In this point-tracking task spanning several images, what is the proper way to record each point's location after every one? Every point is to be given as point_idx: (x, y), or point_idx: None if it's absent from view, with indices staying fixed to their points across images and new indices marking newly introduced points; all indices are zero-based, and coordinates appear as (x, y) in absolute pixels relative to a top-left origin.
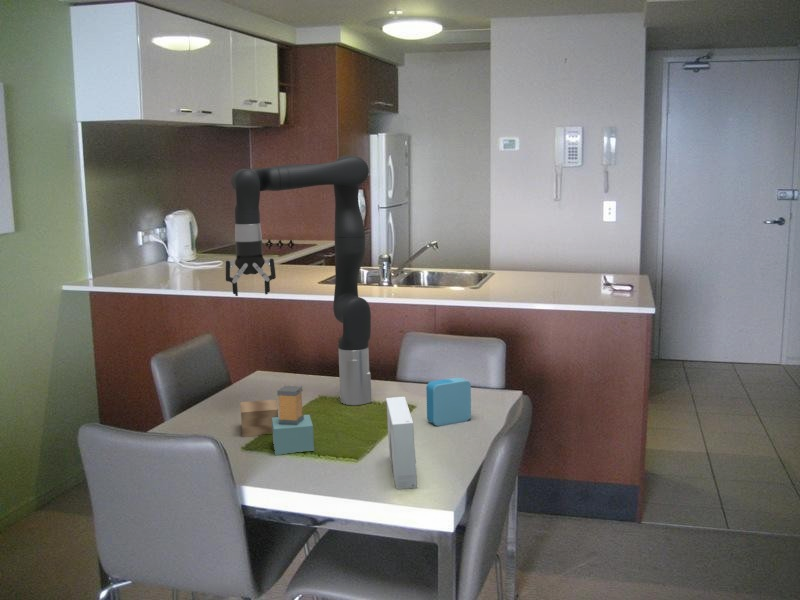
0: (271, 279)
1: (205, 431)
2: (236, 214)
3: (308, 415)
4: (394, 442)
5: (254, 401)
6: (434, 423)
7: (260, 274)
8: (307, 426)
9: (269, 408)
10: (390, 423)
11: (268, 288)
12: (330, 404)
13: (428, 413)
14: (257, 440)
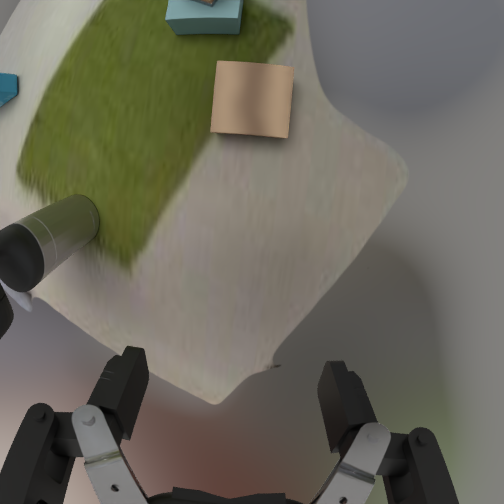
0: (66, 414)
1: (345, 134)
2: None
3: (168, 14)
4: None
5: (257, 132)
6: (16, 75)
7: (125, 467)
8: None
9: (233, 71)
10: None
11: (111, 374)
12: (115, 215)
13: (10, 87)
14: (263, 53)
